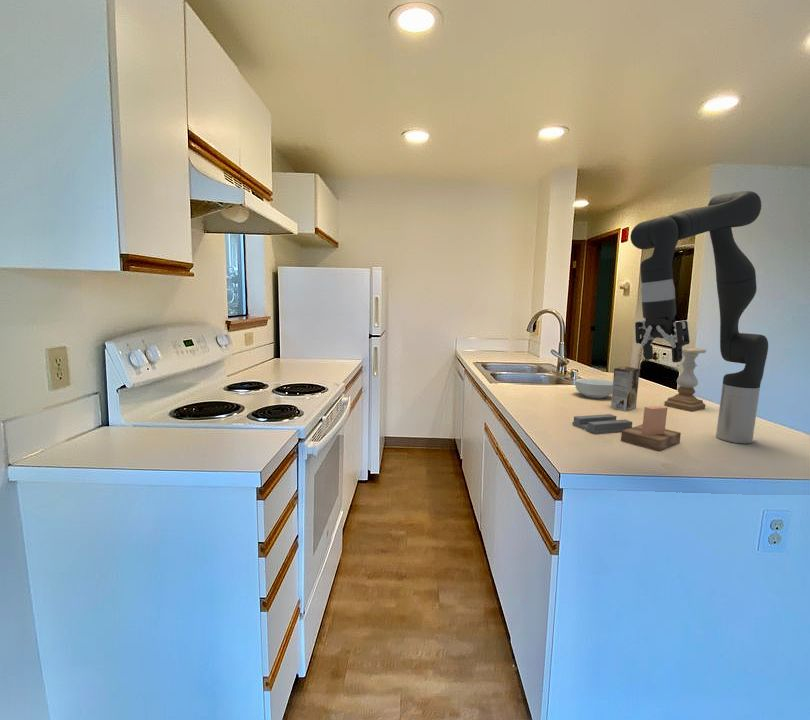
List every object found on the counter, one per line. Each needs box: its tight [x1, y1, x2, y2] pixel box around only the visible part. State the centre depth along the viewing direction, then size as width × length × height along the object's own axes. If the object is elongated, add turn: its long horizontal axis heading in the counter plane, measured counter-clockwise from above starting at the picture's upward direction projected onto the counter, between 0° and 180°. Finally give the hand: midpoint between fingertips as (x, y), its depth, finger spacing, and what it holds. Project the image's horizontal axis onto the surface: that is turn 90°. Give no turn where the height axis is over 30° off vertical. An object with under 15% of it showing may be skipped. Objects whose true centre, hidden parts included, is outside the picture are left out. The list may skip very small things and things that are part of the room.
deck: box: [620, 423, 682, 452], centre depth 134 cm, size 14×11×3 cm
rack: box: [572, 413, 633, 435], centre depth 147 cm, size 15×11×3 cm
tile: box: [642, 405, 668, 435], centre depth 132 cm, size 6×2×8 cm, turn 107°
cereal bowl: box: [574, 377, 613, 400], centre depth 195 cm, size 17×17×7 cm
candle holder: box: [663, 347, 707, 412], centre depth 178 cm, size 11×11×24 cm
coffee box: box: [610, 366, 640, 412], centre depth 175 cm, size 9×6×16 cm
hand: (662, 360), depth 115 cm, fingers open, 8 cm apart
